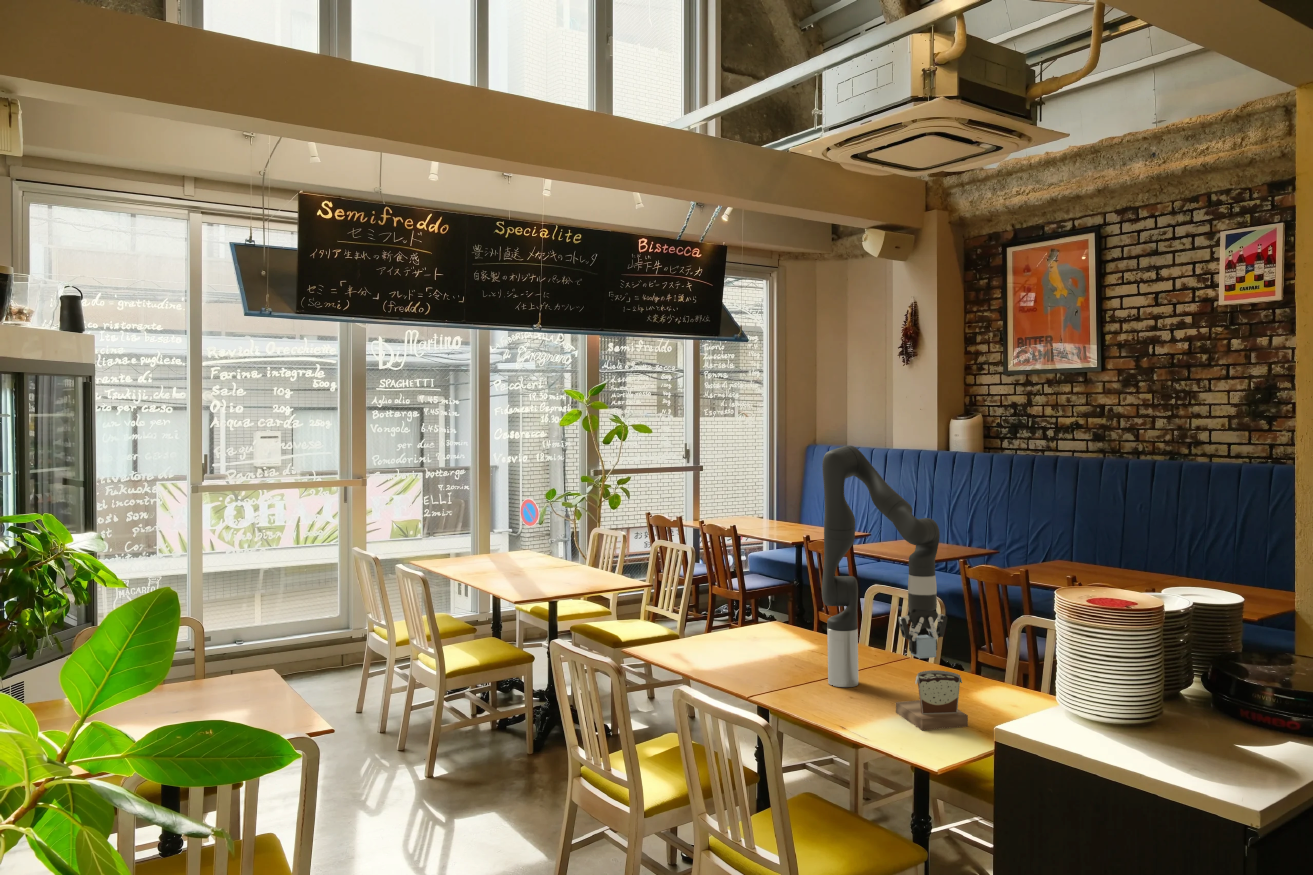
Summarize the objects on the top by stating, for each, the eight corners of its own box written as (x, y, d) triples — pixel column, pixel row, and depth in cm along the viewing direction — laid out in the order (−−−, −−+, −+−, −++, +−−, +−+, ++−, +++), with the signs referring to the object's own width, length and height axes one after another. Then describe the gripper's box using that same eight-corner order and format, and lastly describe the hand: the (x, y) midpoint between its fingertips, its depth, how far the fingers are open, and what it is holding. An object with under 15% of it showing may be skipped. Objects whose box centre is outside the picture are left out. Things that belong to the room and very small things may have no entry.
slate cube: (910, 654, 246) (910, 635, 246) (927, 652, 247) (926, 634, 247) (919, 658, 241) (918, 639, 241) (936, 657, 242) (935, 638, 242)
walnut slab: (895, 712, 245) (895, 702, 245) (939, 709, 248) (938, 698, 248) (922, 730, 231) (922, 718, 231) (968, 726, 233) (967, 715, 233)
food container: (953, 705, 241) (953, 669, 241) (962, 712, 235) (962, 675, 235) (909, 707, 241) (908, 670, 241) (916, 714, 234) (916, 676, 234)
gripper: (904, 595, 239) (905, 658, 239) (953, 592, 241) (954, 654, 241) (891, 590, 246) (892, 651, 246) (939, 587, 249) (940, 648, 249)
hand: (923, 652), depth 244 cm, fingers closed on slate cube, 5 cm apart
